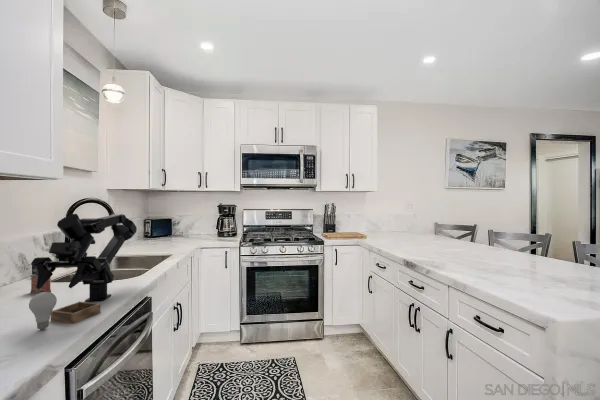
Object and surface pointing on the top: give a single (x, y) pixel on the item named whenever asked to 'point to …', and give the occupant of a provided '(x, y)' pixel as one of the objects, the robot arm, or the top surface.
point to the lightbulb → (42, 308)
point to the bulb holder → (75, 312)
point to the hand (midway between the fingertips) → (53, 288)
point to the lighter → (34, 283)
